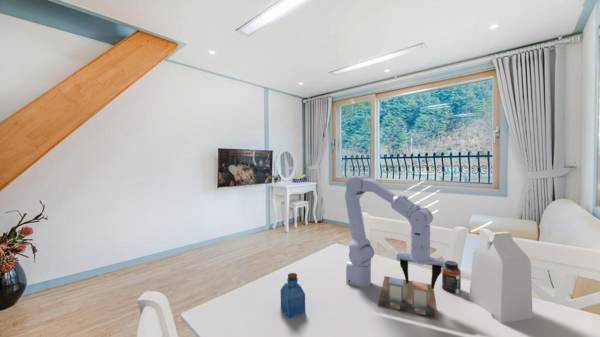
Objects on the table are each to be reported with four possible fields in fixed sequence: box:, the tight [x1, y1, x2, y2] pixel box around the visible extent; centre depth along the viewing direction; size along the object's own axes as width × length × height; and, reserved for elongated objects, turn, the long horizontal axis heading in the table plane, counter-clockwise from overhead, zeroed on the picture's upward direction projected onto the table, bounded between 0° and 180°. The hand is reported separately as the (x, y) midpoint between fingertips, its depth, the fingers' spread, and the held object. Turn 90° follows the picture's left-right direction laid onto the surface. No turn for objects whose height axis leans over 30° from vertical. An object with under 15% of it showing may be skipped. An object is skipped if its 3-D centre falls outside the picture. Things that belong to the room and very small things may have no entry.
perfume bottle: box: [280, 272, 306, 318], centre depth 83 cm, size 6×6×12 cm
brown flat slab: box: [377, 275, 439, 321], centre depth 90 cm, size 18×23×3 cm
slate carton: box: [389, 276, 404, 302], centre depth 86 cm, size 5×4×7 cm
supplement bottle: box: [441, 260, 462, 295], centre depth 93 cm, size 6×6×11 cm
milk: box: [468, 231, 534, 324], centre depth 82 cm, size 12×12×26 cm
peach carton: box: [412, 280, 428, 308], centre depth 83 cm, size 5×4×7 cm
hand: (419, 284), depth 83 cm, fingers open, 7 cm apart
